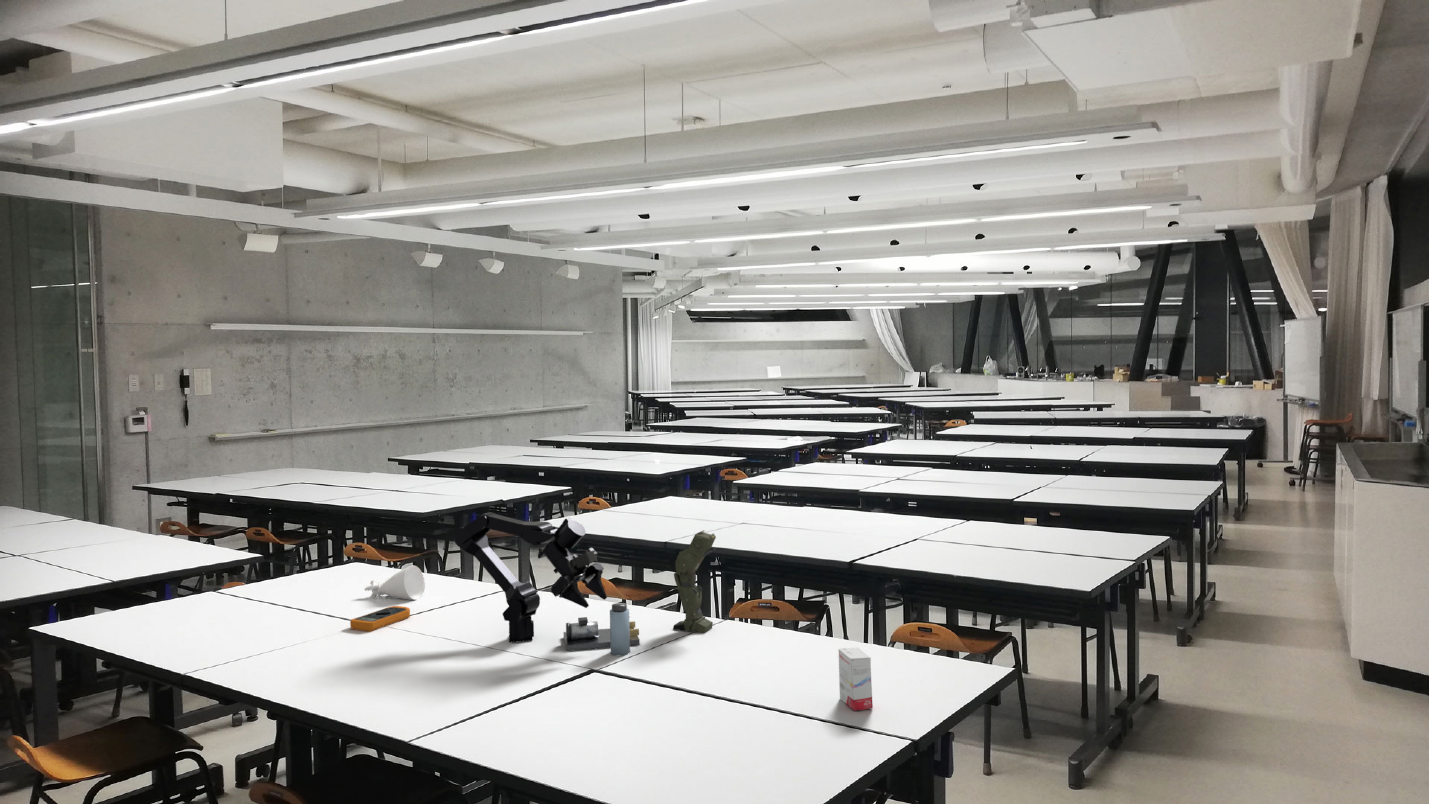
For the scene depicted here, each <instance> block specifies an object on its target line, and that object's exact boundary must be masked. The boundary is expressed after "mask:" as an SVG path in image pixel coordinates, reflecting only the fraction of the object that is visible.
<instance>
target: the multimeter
mask: <svg viewBox="0 0 1429 804" xmlns="http://www.w3.org/2000/svg"><path fill="white" fill-rule="evenodd" d="M410 617H411V609H410V608H409V607H407V606H401V605H395V606H394V605H392V606H387V607H385V608H382V609H380V610H376V611H372V612H369V613H367V614H364V615H361V616H358V617H355V618H351V619H350V620H349V621H350V622H349V625H350V629H352V630H354V631H360V632H361V631H362V632H366V633H367V632H374V631H376V630H379V629H382V628H383V627H386V626H389V625H392V624H395V623H398V622H401V621H404V620H407V619H409V618H410Z"/></svg>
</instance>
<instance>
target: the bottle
mask: <svg viewBox="0 0 1429 804" xmlns="http://www.w3.org/2000/svg"><path fill="white" fill-rule="evenodd" d="M629 622H630V609H629V608H628V604H627V603H626V602H625V603H624V602H616V603H612V604H611V609H610V610H609V629H610V646H611V647H610V654H611V655H613V656H617V655H621V656H626V654H627V655H629V654H630V653H631V646H630V628H629ZM629 652H630V653H629ZM628 653H629V654H628Z"/></svg>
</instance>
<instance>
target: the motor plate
mask: <svg viewBox="0 0 1429 804" xmlns="http://www.w3.org/2000/svg"><path fill="white" fill-rule="evenodd" d="M629 628H630V647H631V646H641V645H640V643H641V642H640V638H639V635H640V629H639V628H636V621H635V620H632V621H629ZM563 642H564V644H565V649H566V652H570V651H569V650H574V651H583V650H584V651H585V650H594V649H595V648H597V649H603V648H602V647H609V648H611V646H610V628H599V623H598V621H589V620H588V617H587V616H586V617H585V616H583V617H581V616H580V617H577V622H572V623H571V622H566V623H565V631H563Z"/></svg>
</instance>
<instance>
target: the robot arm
mask: <svg viewBox="0 0 1429 804" xmlns="http://www.w3.org/2000/svg"><path fill="white" fill-rule="evenodd" d="M491 530H493V531H497V532H500V533H505V534H509V535H513V536H517V537H518V538H521V539H522V540H523V541H524V542H526V543H527V544H528V545H529V544H530V545H531V546H535V547H536V546H539V545H543V544H545V545H544V547H543V546H542V547H540V548H538V553H537V559H543V558H546V559H547V560H548V561H549V562H550V563H551V565H552V566H553V567H554V569H553V572H554V574H558V573H559V575H560V576H559V577H558V579H557V580H556V581H555V582H554V583H553V584H552V585H551V587H550V591H551V593H552V595H553V596H554V597H555V598H557V597H559V598H560V599H561V598H563V599H565V600H566V601H568V602H569V601H570V602H572V603H575V604H576V605H578V606H581V607H583V608H585V609H587V608H588V607H589V603H588V602H587V599H586V598H585V596H584V595H583V594H582V592H581V591H580V589H579V586H578V583H580V582H581V583H583V584H584V585H585V587H586V588H587V589H588V590H590V592H592V593H594V594H595V595H596V596H598V597H599V598H600V599H602V600H606V599H608V596H607V593H606V590H605V588H604V584H603V583H602V574H603V572H604V570H605V568H604V566H602V564H601V563H600V562H598V559H597V558H598V554H599V553H598V552H597V551H596V550H595V549H594V548H593V547H590V548H587V549H585V550H584V553H582V554H580V555H578V554H577V553H576V554H575V553H574V554H572V553H571V552H570V551H569V550H571V549H573V548H574V547H576V545H577V544H578V543H579V541H581V540H582V538H583V537H584V536H585V535H586V529H585V527H584V525H583V524H581V523H579V522H578V521H577V520H573V519H572V518H571V517H567V518H564V520H563V521H562V522H561V524H560V526H559V527H558V526H554V525H553V524H552V523H551V522H549V521H525V520H524V521H523V520H520V519H516V518H513V517H508V516H504V515H500V514H496V513H494V512H492V511H491V512H490V511H489V512H486V513H482V514H480V515H479V516H477V518H475V519H474V520H472V521H471V522H469V523H467V524H466V525H464V526H463V527H462V526H461V527H459V528H457V529H456V530H455V532H454V536H453V537H454V538H453V540H454V544H455V545H456V546H457V547H459V549H460V550H462V551H463V552H464V553H467V554H468V555H470V556H473V557H474V558H475V559H476V560H477V562H479V563H480V565H481V566H482V567H483V568H484V570H486V572H487V573H488V574H489V575H490V576H491V578H492V579H493V580H494V582H495V583H496V585H498V586H499V587H500V588H501V589H502V591H503V592H504V593H505V601H506V604H507V606H508V607H507V608H506V609H505V610H504V611H503V612H502V616H503V619H504V621H506V622H508V633H509V634H508V643H522V642H532V641H533V638H534V637H535V630H534V629H535V626H534V625H535V623H534V620H532V616H535V615H536V613H537V609H538V608H539V607H540V604H541V597H540V595H539V593H538V592H539V590H537V589H535V587H534V586H533V585H532V583H531V582H530V581H527V582H524V583H522V582H520V581H519V580H518V579H517V578H516V577H515V575H514V574H513V572H511V570H510V569H509V568H508V567H507V566H506V564H505V563H504V562H503V561H502V560H501V558H500V557H499V556H498V555H497V554H496V553H495V551H494V550H493V549H492V548H491V547H490V545H489V539H488V536H487V534H488V533H489V532H490V531H491ZM568 549H569V550H568ZM596 562H598V563H596Z"/></svg>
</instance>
